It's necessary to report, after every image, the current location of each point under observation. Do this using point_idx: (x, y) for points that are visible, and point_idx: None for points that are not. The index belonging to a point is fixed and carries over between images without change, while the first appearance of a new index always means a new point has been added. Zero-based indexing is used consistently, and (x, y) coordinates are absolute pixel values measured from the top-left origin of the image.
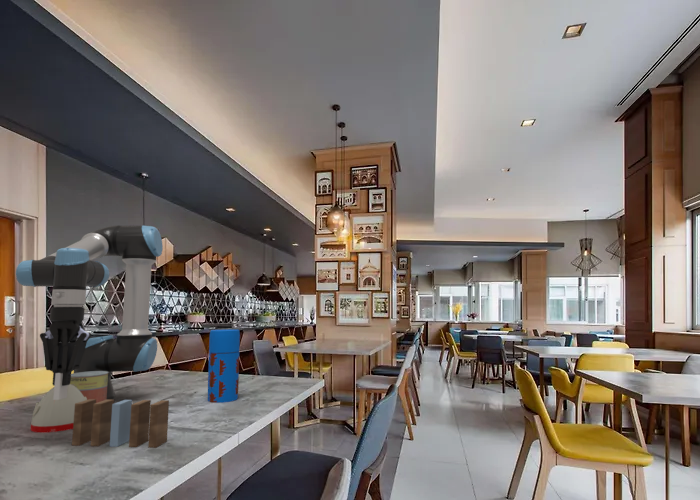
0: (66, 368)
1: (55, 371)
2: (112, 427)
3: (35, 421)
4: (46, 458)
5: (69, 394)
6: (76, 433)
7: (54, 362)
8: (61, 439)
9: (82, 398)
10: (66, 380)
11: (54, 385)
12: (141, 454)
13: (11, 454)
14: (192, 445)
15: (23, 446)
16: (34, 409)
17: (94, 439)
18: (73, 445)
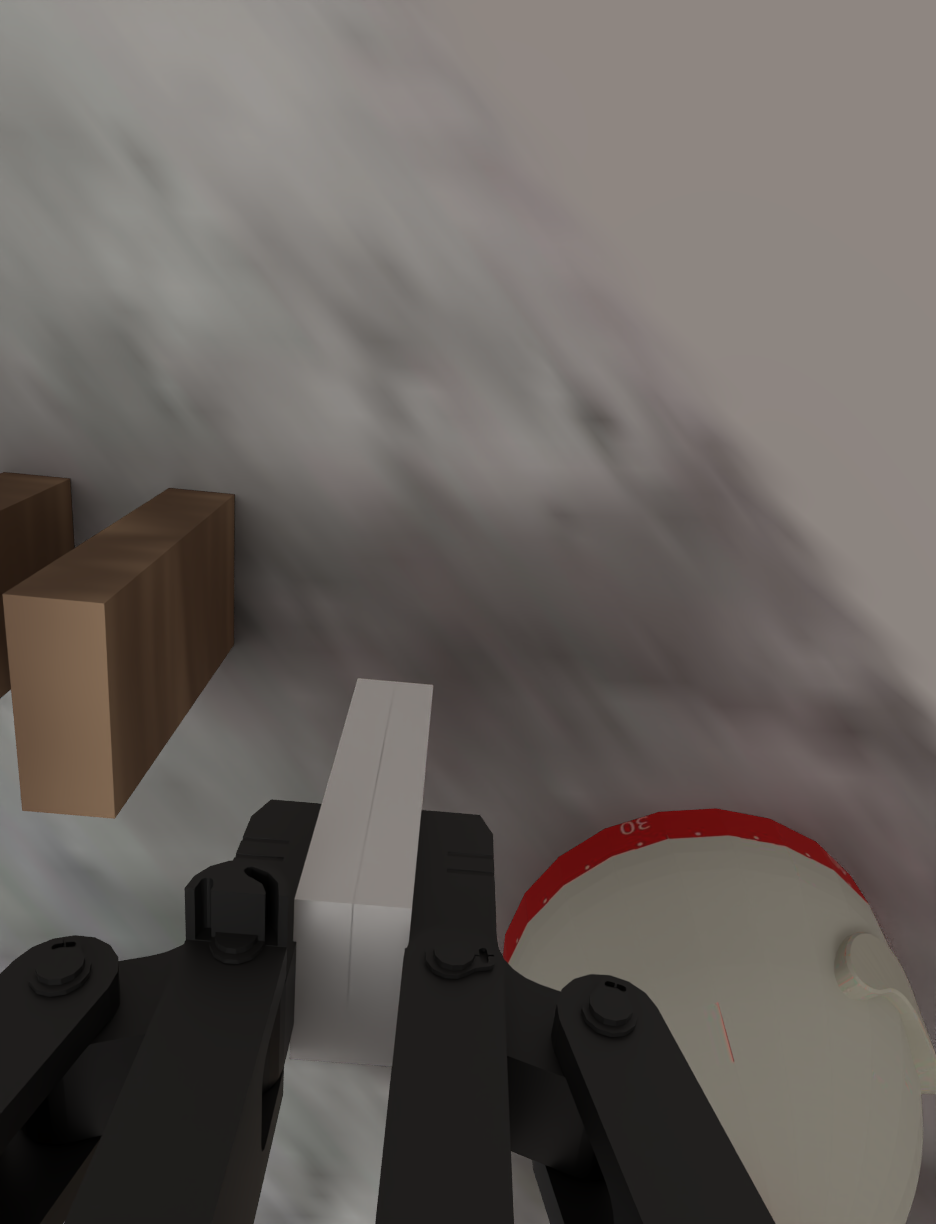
0: (175, 984)
1: (426, 945)
2: None
3: (810, 877)
4: (202, 177)
5: None
6: (169, 512)
7: (460, 1108)
8: (431, 644)
9: None
10: (240, 847)
11: (455, 815)
12: None
13: (573, 285)
14: None
15: (617, 483)
16: (901, 989)
17: (15, 487)
18: (219, 493)
